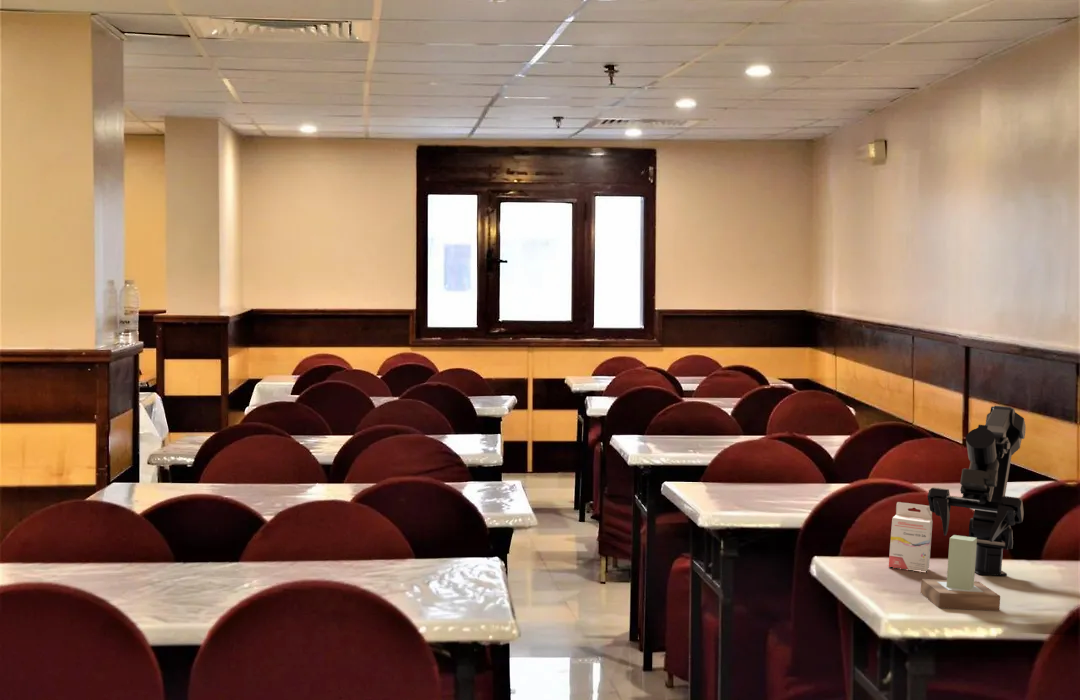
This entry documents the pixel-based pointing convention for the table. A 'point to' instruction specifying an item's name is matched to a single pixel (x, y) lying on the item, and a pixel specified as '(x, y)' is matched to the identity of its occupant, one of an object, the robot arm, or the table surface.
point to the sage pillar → (961, 562)
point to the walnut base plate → (960, 596)
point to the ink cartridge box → (911, 537)
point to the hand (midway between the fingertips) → (967, 537)
